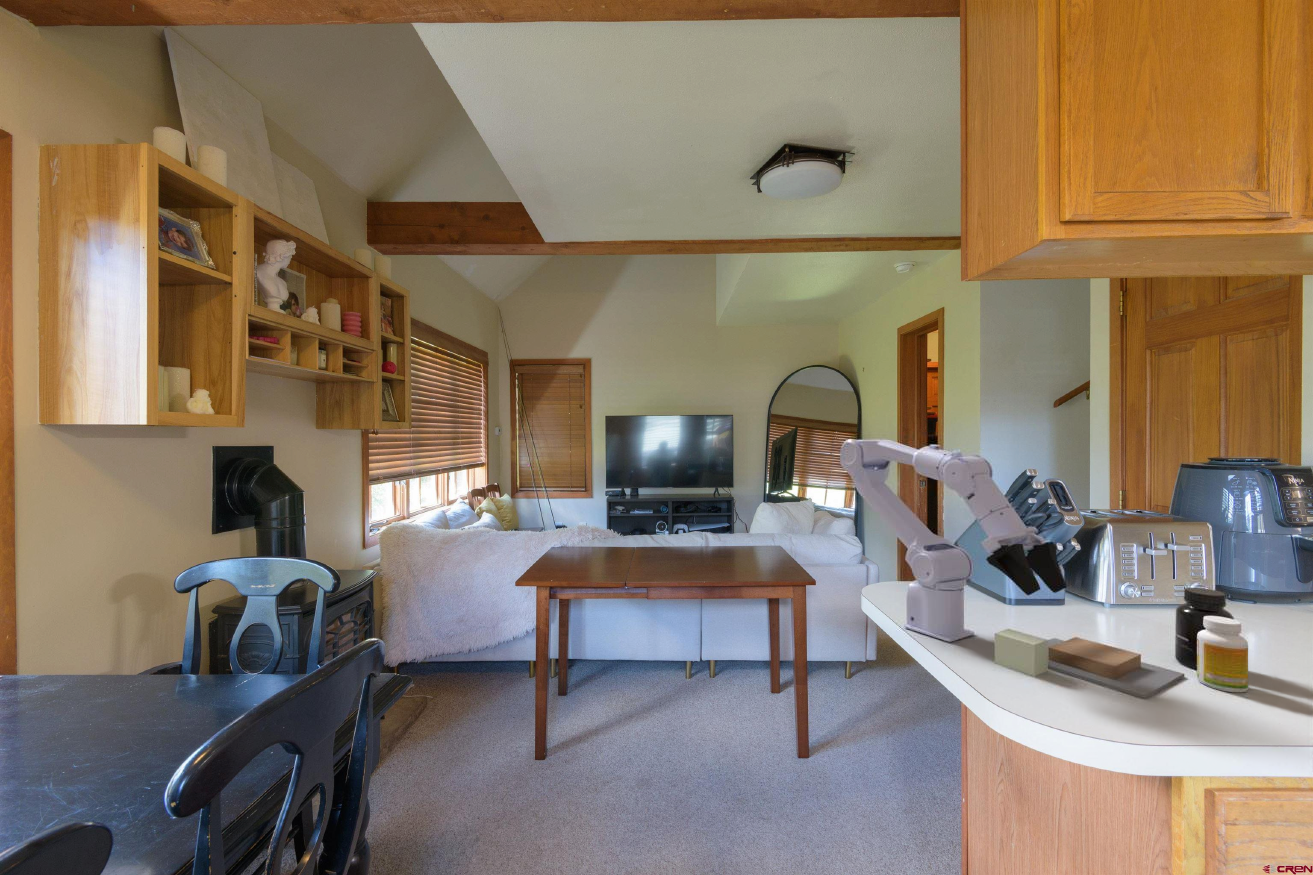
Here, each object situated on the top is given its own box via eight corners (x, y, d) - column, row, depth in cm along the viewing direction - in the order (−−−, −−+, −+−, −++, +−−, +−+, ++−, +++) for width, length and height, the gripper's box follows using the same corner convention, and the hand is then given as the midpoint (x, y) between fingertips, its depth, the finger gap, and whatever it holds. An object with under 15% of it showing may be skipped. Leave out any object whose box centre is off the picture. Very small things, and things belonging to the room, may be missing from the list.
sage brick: (994, 663, 94) (994, 633, 94) (1008, 658, 96) (1008, 628, 96) (1034, 676, 88) (1034, 644, 88) (1047, 671, 90) (1047, 639, 90)
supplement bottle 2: (1258, 695, 82) (1259, 626, 82) (1214, 691, 83) (1214, 624, 83) (1229, 679, 87) (1229, 614, 87) (1188, 676, 88) (1187, 613, 88)
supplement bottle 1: (1165, 661, 94) (1165, 588, 94) (1188, 654, 96) (1188, 583, 96) (1220, 677, 87) (1220, 599, 87) (1243, 670, 90) (1243, 593, 90)
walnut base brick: (1048, 659, 94) (1048, 647, 93) (1075, 648, 98) (1075, 636, 98) (1114, 679, 86) (1114, 666, 86) (1140, 666, 90) (1140, 654, 90)
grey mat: (1011, 656, 96) (1011, 653, 96) (1054, 640, 103) (1054, 637, 103) (1144, 699, 81) (1144, 695, 81) (1184, 676, 88) (1184, 673, 88)
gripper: (989, 502, 91) (1044, 581, 83) (1040, 504, 98) (1094, 577, 90) (956, 525, 96) (1004, 602, 88) (1006, 525, 103) (1055, 597, 95)
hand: (1047, 591), depth 90 cm, fingers open, 7 cm apart
